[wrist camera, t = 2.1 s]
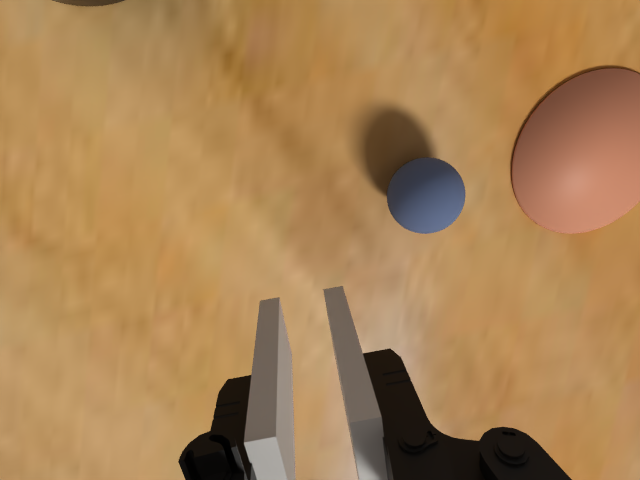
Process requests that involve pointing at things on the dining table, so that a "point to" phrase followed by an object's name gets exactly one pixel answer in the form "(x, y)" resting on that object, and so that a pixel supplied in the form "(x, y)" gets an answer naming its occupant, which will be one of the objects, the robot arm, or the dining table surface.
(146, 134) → the dining table surface
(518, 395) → the dining table surface
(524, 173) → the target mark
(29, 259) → the dining table surface
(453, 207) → the ball
